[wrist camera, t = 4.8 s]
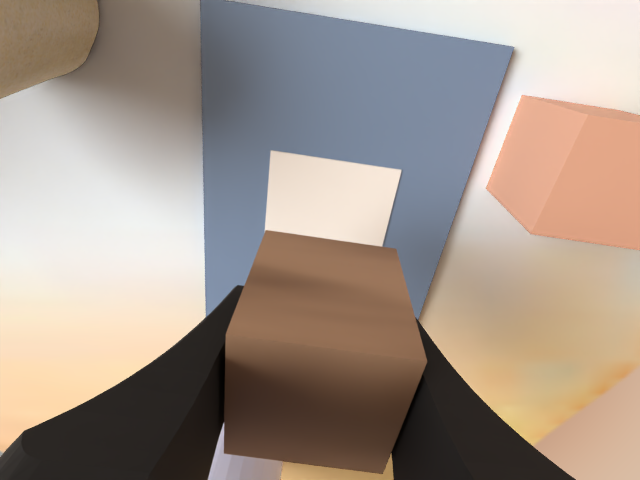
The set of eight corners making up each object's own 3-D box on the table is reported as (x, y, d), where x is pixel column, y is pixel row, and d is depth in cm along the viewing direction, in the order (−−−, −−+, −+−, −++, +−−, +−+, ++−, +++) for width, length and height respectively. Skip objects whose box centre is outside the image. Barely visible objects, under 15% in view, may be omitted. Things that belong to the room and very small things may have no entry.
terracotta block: (571, 200, 19) (642, 250, 14) (485, 188, 19) (531, 234, 14) (617, 110, 16) (719, 135, 12) (521, 94, 16) (588, 114, 12)
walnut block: (369, 344, 15) (382, 473, 10) (258, 328, 15) (223, 453, 10) (396, 248, 12) (426, 361, 8) (265, 229, 12) (225, 334, 8)
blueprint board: (404, 352, 24) (405, 357, 24) (207, 325, 24) (205, 330, 23) (510, 46, 15) (515, 46, 15) (203, -3, 15) (199, -4, 15)
